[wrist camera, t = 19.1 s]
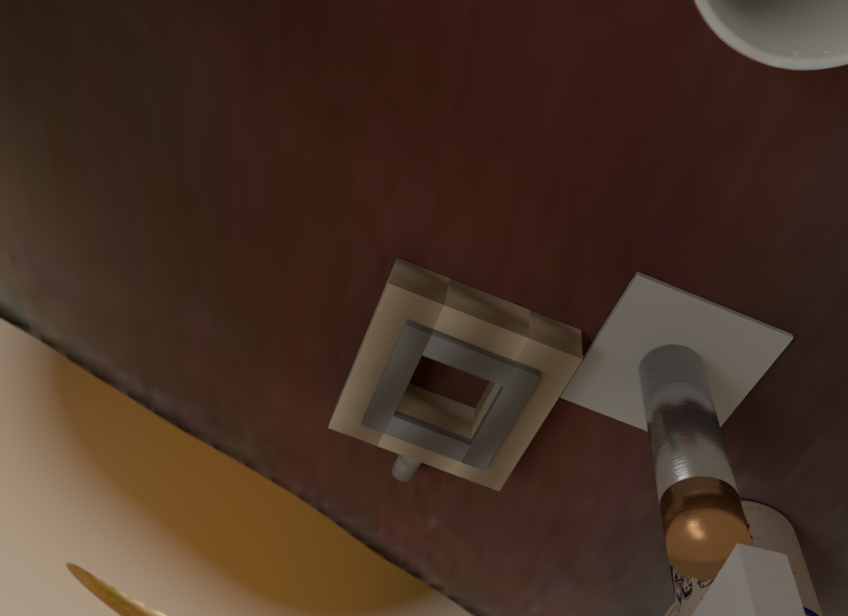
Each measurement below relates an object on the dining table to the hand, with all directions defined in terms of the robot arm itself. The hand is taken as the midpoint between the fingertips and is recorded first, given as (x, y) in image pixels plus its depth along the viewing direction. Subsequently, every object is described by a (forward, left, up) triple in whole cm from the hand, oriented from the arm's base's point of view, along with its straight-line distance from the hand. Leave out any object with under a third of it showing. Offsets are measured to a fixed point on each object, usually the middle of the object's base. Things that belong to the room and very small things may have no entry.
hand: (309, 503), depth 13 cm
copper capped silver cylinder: (+19, -14, -31) cm, 39 cm away
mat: (+19, -14, -32) cm, 40 cm away
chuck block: (+7, -21, -32) cm, 39 cm away
